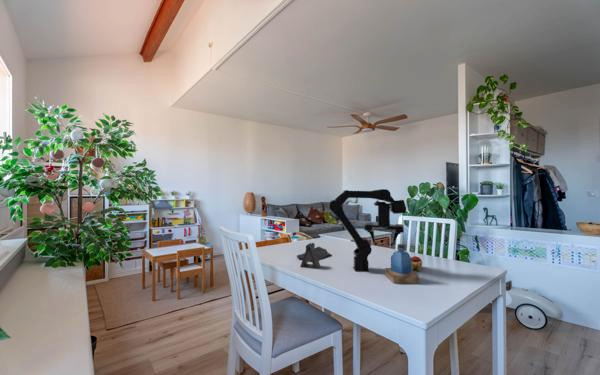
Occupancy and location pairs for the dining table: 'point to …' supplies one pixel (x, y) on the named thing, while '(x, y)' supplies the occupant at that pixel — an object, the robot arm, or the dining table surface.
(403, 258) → the perfume bottle
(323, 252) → the stegosaurus figurine
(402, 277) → the walnut plinth
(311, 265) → the phone stand
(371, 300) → the dining table surface
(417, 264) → the kendama
